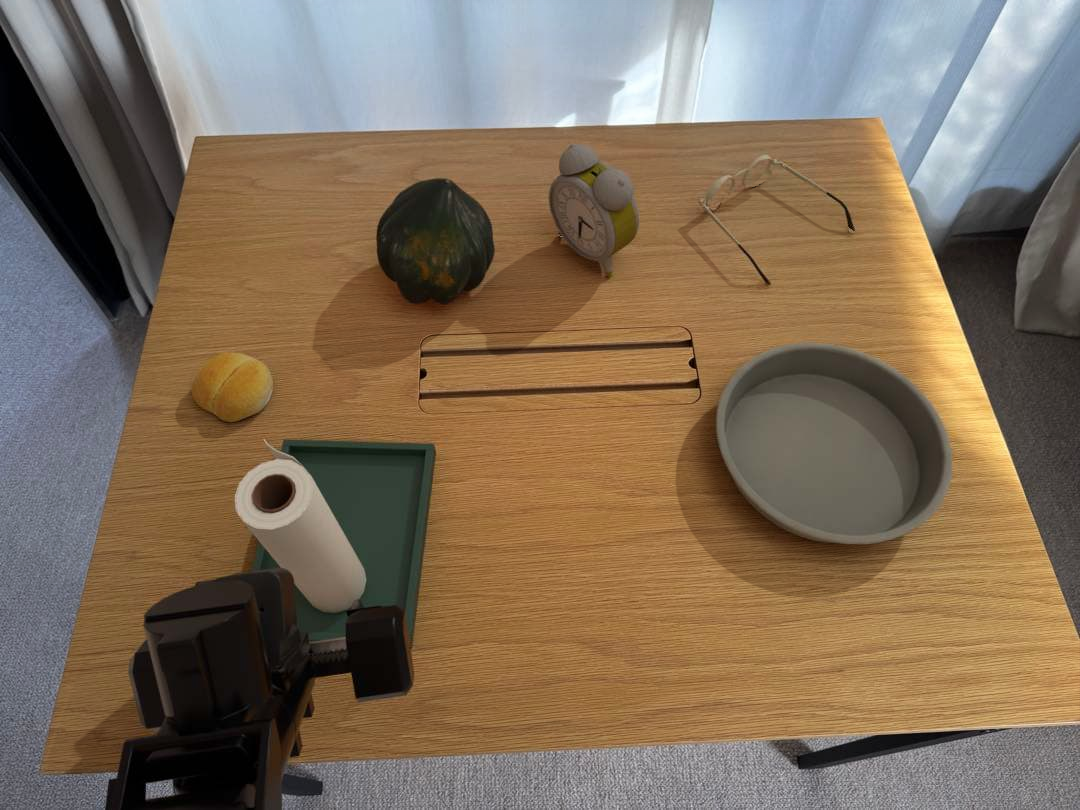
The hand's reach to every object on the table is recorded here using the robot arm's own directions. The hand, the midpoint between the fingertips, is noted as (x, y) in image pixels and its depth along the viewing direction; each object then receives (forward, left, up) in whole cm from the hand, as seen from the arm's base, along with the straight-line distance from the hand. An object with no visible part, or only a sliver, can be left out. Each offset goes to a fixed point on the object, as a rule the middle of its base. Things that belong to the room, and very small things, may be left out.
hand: (301, 612), depth 62 cm
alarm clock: (+54, -25, -14) cm, 61 cm away
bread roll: (+30, +17, -14) cm, 37 cm away
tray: (+12, +1, -13) cm, 18 cm away
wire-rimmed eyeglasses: (+59, -49, -14) cm, 77 cm away
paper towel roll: (+7, +1, -13) cm, 15 cm away
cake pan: (+24, -50, -14) cm, 57 cm away
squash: (+49, -5, -14) cm, 51 cm away
